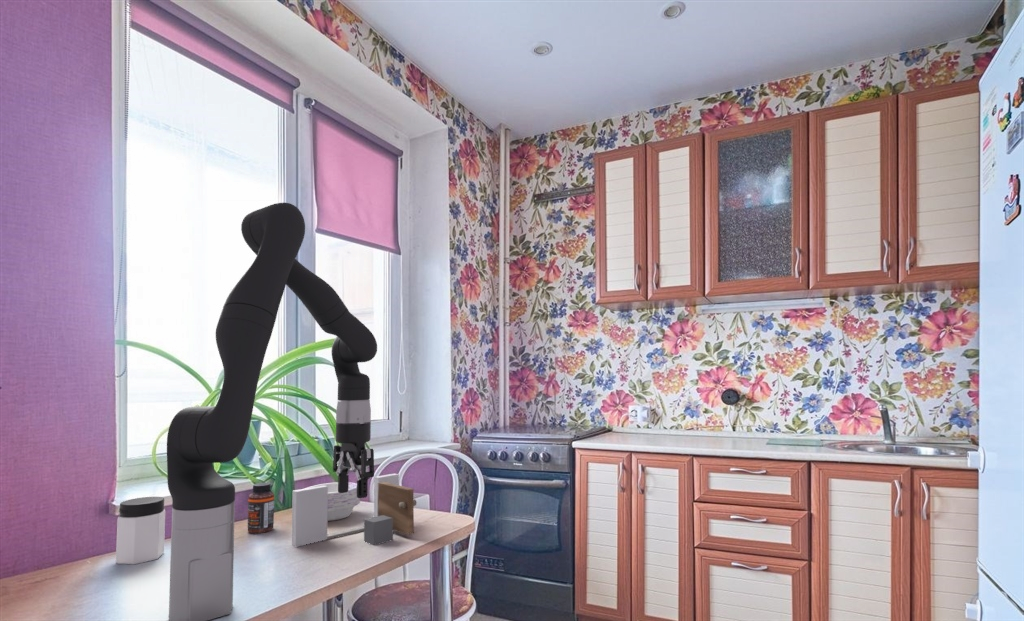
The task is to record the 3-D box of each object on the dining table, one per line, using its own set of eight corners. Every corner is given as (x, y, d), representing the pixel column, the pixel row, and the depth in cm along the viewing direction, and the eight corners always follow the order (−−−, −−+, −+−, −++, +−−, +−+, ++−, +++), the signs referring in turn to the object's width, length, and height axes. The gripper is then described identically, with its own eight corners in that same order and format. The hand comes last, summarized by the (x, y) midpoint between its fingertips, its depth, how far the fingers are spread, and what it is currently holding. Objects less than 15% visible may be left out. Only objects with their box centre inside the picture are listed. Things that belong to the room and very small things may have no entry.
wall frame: (399, 522, 148) (398, 474, 150) (295, 547, 130) (296, 491, 131) (394, 521, 150) (394, 473, 151) (291, 545, 131) (292, 490, 132)
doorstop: (392, 540, 133) (392, 517, 134) (373, 545, 130) (373, 522, 130) (383, 537, 136) (383, 515, 137) (364, 541, 133) (364, 519, 133)
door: (385, 521, 146) (385, 480, 147) (417, 531, 136) (417, 488, 137) (371, 525, 143) (371, 483, 144) (403, 535, 133) (403, 490, 134)
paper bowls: (291, 517, 156) (291, 487, 157) (344, 507, 166) (344, 479, 167) (315, 528, 145) (315, 495, 146) (370, 516, 155) (370, 486, 156)
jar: (125, 554, 127) (127, 497, 129) (167, 550, 130) (169, 494, 131) (110, 567, 119) (112, 506, 120) (155, 562, 121) (157, 503, 122)
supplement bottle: (241, 533, 142) (242, 485, 143) (259, 526, 148) (259, 481, 149) (262, 534, 140) (263, 486, 141) (278, 528, 146) (279, 481, 147)
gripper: (323, 420, 133) (321, 493, 131) (353, 422, 123) (352, 502, 121) (353, 418, 138) (352, 488, 136) (385, 420, 128) (384, 496, 126)
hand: (352, 495), depth 129 cm, fingers open, 8 cm apart
